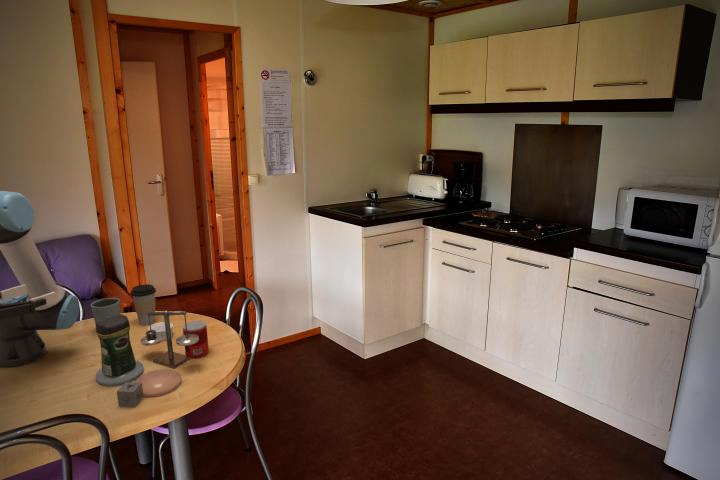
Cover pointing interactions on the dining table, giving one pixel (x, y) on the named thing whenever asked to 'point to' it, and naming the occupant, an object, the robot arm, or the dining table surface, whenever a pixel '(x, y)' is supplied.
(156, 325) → the ramekin
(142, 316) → the coffee cup
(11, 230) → the robot arm
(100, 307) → the grey-green ceramic planter
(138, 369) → the slate dish
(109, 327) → the coffee jar
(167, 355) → the balance
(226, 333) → the dining table surface
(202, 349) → the canned food
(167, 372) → the terracotta dish
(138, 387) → the dice cube
